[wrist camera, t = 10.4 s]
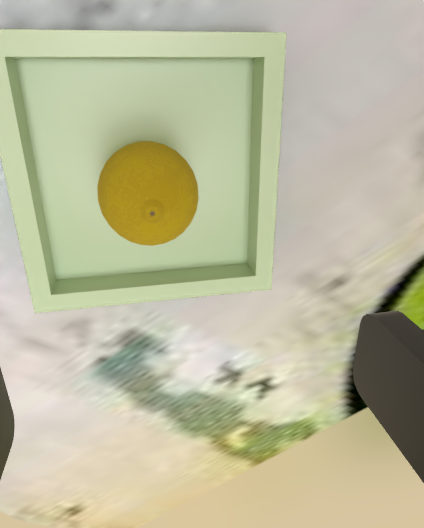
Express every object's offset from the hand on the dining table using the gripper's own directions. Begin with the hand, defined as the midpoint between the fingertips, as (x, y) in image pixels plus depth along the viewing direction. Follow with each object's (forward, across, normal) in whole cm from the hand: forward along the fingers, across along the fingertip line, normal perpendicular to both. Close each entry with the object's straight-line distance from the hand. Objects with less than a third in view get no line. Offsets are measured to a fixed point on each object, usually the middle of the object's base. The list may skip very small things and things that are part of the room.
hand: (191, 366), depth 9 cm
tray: (+20, 0, 0) cm, 20 cm away
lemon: (+20, 0, 0) cm, 20 cm away
